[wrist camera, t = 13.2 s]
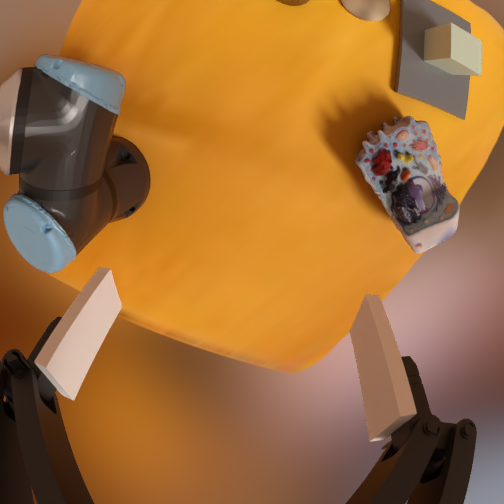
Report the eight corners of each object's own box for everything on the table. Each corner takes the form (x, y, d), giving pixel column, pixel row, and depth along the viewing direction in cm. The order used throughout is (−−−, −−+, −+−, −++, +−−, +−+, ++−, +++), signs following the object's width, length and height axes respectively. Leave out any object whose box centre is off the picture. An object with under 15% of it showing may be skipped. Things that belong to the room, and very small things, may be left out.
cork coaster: (338, 15, 26) (340, 13, 25) (338, -23, 22) (339, -25, 21) (388, 27, 26) (390, 26, 25) (387, -10, 21) (389, -12, 21)
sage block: (423, 61, 27) (450, 57, 20) (424, 30, 23) (451, 22, 17) (452, 74, 26) (481, 75, 20) (453, 44, 23) (481, 41, 16)
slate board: (394, 92, 31) (397, 92, 30) (400, -10, 21) (402, -12, 20) (460, 118, 31) (464, 119, 30) (466, 24, 20) (470, 23, 19)
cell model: (418, 270, 35) (354, 159, 29) (396, 236, 45) (337, 145, 38) (480, 225, 30) (432, 106, 23) (448, 199, 39) (399, 102, 32)
